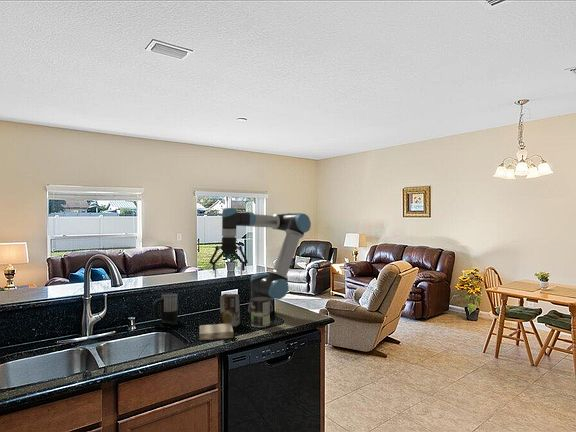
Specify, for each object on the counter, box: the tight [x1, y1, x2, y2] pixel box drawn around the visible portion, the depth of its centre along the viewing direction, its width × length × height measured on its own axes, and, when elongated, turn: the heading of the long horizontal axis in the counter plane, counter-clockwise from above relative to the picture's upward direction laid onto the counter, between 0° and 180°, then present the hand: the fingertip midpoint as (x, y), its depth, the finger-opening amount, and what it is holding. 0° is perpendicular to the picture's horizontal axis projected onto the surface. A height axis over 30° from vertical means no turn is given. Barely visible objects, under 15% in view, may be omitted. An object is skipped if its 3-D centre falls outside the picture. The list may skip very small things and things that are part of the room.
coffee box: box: [219, 293, 241, 327], centre depth 200 cm, size 9×6×16 cm
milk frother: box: [152, 292, 179, 327], centre depth 203 cm, size 14×16×15 cm
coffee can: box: [250, 297, 271, 328], centre depth 199 cm, size 10×10×14 cm
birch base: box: [198, 323, 234, 341], centre depth 183 cm, size 16×14×3 cm
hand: (228, 276), depth 196 cm, fingers open, 13 cm apart
